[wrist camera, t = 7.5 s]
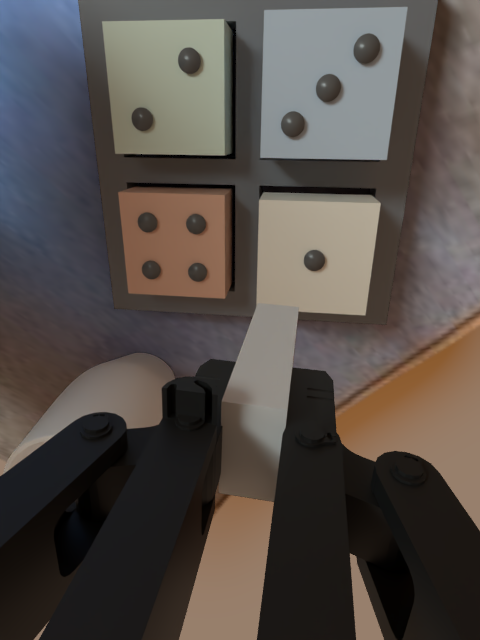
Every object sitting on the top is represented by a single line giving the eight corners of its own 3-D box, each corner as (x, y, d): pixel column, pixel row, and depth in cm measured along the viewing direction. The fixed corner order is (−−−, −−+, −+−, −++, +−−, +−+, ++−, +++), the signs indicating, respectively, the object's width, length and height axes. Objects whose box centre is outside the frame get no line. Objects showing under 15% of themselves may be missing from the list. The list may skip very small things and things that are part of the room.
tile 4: (144, 278, 29) (127, 294, 26) (136, 185, 27) (116, 192, 24) (232, 282, 29) (224, 299, 26) (232, 188, 26) (223, 195, 23)
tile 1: (260, 291, 27) (255, 310, 24) (263, 192, 25) (258, 200, 22) (358, 296, 26) (366, 316, 23) (371, 194, 24) (381, 203, 21)
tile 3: (264, 154, 24) (260, 158, 21) (268, 25, 21) (263, 8, 18) (376, 156, 23) (387, 160, 20) (393, 22, 21) (408, 5, 18)
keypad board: (125, 298, 31) (114, 308, 29) (93, -5, 24) (76, -16, 22) (380, 312, 29) (386, 324, 27) (430, -14, 22) (442, -27, 20)
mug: (152, 310, 31) (80, 411, 21) (223, 397, 34) (191, 528, 23) (44, 380, 35) (-65, 497, 24) (115, 454, 38) (45, 589, 27)
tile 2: (134, 151, 26) (113, 154, 23) (124, 33, 24) (100, 20, 21) (232, 152, 25) (224, 155, 23) (233, 32, 23) (223, 17, 20)
